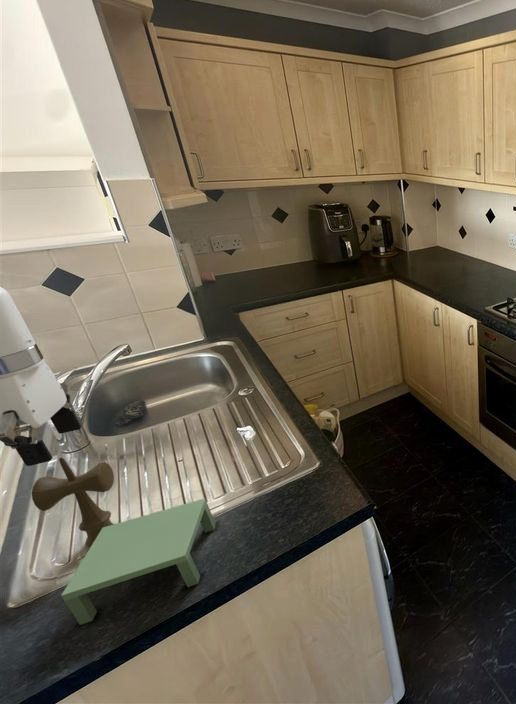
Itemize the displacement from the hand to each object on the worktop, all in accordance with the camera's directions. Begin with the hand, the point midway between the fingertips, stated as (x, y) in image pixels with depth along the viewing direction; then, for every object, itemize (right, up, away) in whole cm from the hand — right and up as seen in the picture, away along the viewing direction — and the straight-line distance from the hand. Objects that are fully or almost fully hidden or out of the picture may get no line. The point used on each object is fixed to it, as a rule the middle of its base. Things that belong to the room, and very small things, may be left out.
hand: (56, 445), depth 73 cm
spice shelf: (+17, -23, +1) cm, 29 cm away
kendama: (+1, -21, +8) cm, 23 cm away
